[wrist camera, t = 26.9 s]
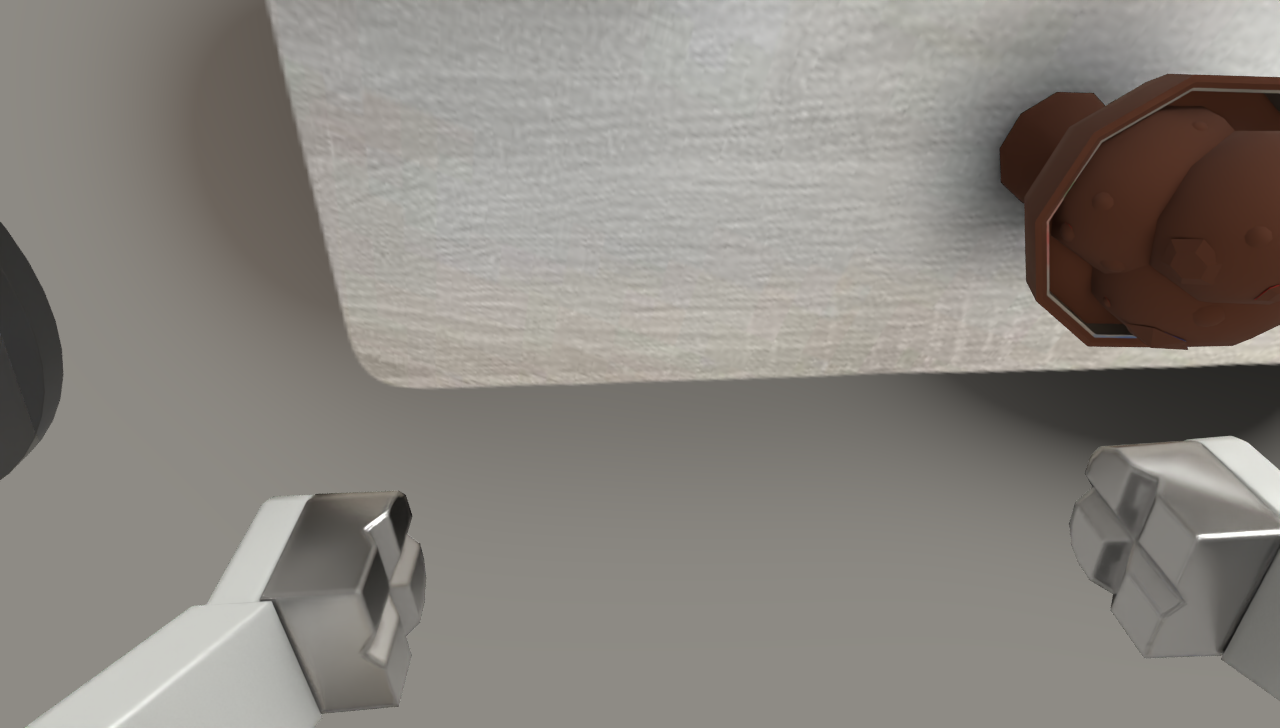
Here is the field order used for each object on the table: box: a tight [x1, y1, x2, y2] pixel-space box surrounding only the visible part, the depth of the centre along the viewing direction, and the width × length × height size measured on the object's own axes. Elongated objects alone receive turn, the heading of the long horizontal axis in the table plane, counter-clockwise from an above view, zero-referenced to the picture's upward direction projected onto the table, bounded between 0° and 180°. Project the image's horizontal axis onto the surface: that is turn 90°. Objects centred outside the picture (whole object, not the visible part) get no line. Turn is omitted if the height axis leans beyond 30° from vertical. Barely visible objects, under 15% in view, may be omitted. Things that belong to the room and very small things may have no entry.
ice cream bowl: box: [1000, 74, 1280, 350], centre depth 31 cm, size 11×11×15 cm
